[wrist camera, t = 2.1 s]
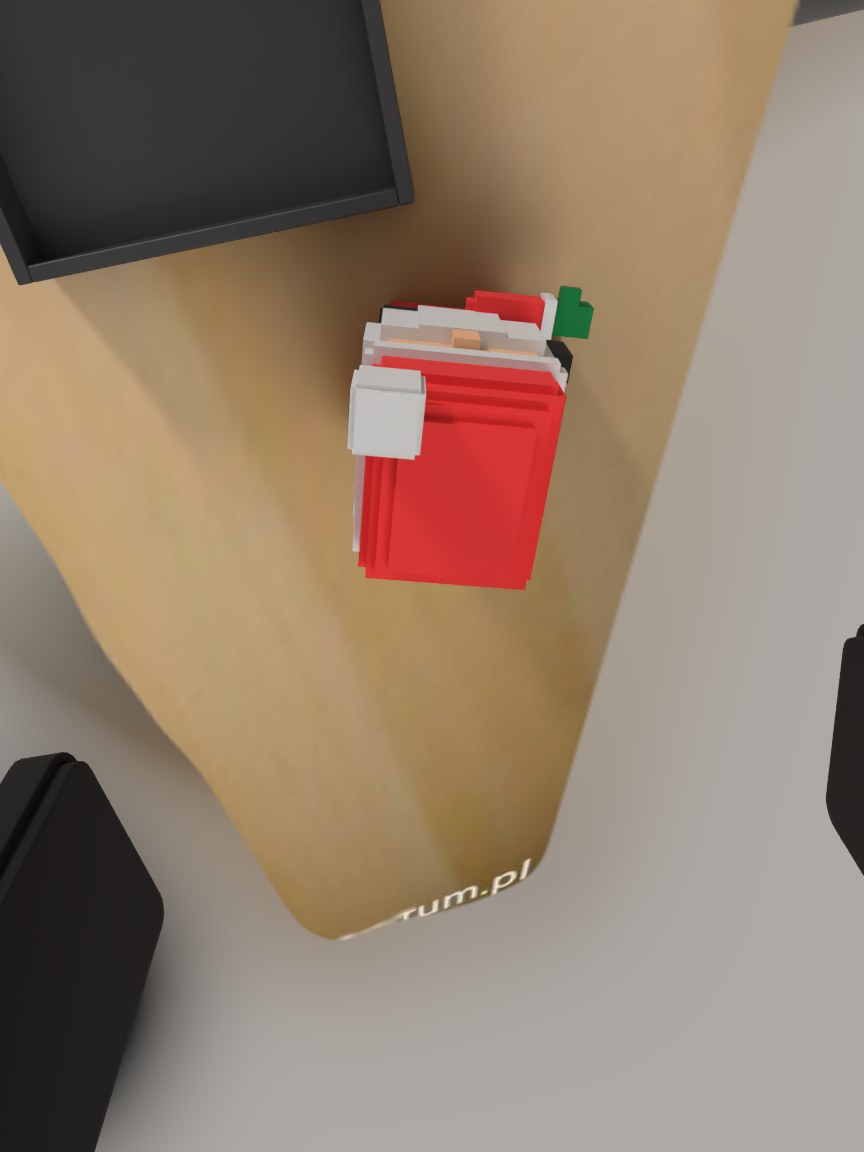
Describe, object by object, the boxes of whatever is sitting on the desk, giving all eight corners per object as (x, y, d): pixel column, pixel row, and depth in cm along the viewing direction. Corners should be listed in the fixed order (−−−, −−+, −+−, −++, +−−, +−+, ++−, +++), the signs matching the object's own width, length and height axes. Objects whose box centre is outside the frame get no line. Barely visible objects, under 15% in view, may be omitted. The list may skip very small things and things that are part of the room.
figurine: (534, 492, 32) (595, 675, 21) (360, 478, 31) (336, 657, 21) (575, 272, 27) (677, 366, 17) (375, 250, 27) (353, 334, 16)
